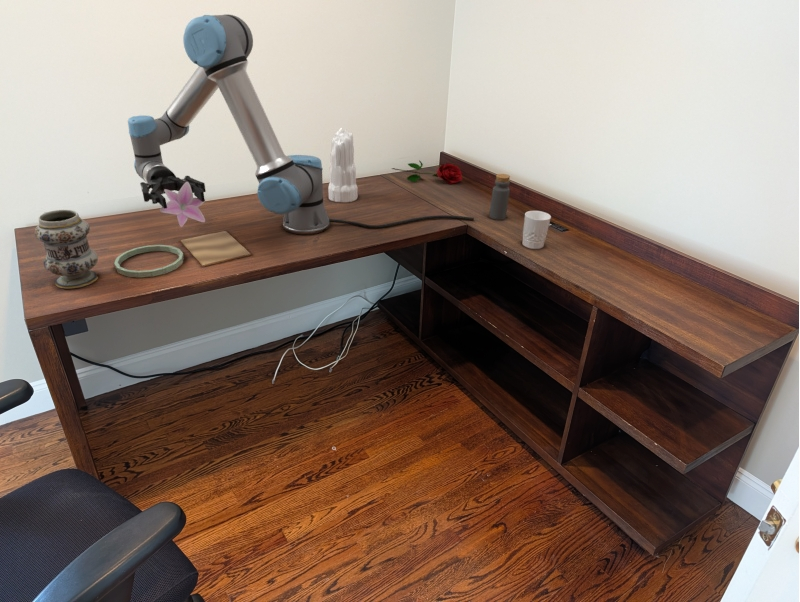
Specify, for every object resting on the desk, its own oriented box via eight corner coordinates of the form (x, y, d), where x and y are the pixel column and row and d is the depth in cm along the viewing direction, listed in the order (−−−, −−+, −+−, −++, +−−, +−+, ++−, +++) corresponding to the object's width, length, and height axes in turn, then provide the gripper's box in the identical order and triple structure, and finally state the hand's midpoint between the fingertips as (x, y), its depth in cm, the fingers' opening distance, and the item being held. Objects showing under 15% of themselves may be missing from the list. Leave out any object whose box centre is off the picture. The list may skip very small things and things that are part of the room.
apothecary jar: (107, 283, 138) (89, 218, 129) (53, 295, 131) (30, 228, 122) (98, 265, 146) (81, 203, 137) (48, 276, 140) (26, 211, 131)
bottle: (487, 218, 188) (492, 176, 180) (491, 212, 192) (496, 172, 185) (503, 221, 186) (509, 179, 178) (507, 215, 191) (513, 174, 183)
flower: (393, 154, 213) (466, 162, 217) (391, 159, 223) (461, 166, 226) (391, 177, 214) (464, 184, 217) (389, 181, 223) (459, 188, 226)
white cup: (531, 251, 164) (536, 221, 159) (515, 242, 170) (519, 212, 165) (550, 247, 168) (556, 217, 163) (534, 238, 174) (539, 209, 169)
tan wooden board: (180, 241, 162) (180, 240, 161) (225, 232, 169) (225, 230, 169) (203, 266, 148) (202, 264, 148) (250, 255, 155) (250, 253, 155)
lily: (156, 231, 145) (160, 206, 139) (159, 201, 152) (163, 176, 145) (202, 239, 151) (208, 215, 144) (203, 210, 157) (209, 186, 151)
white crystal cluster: (352, 203, 195) (352, 134, 183) (325, 200, 197) (322, 132, 184) (360, 194, 205) (360, 128, 192) (333, 191, 206) (332, 125, 194)
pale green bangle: (194, 253, 155) (193, 248, 154) (163, 280, 140) (161, 275, 139) (139, 247, 157) (138, 242, 156) (102, 273, 142) (100, 268, 141)
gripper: (199, 184, 165) (225, 206, 150) (122, 196, 154) (143, 221, 138) (195, 160, 161) (222, 180, 146) (116, 171, 150) (137, 193, 135)
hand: (184, 200), depth 142 cm, fingers closed on lily, 9 cm apart
